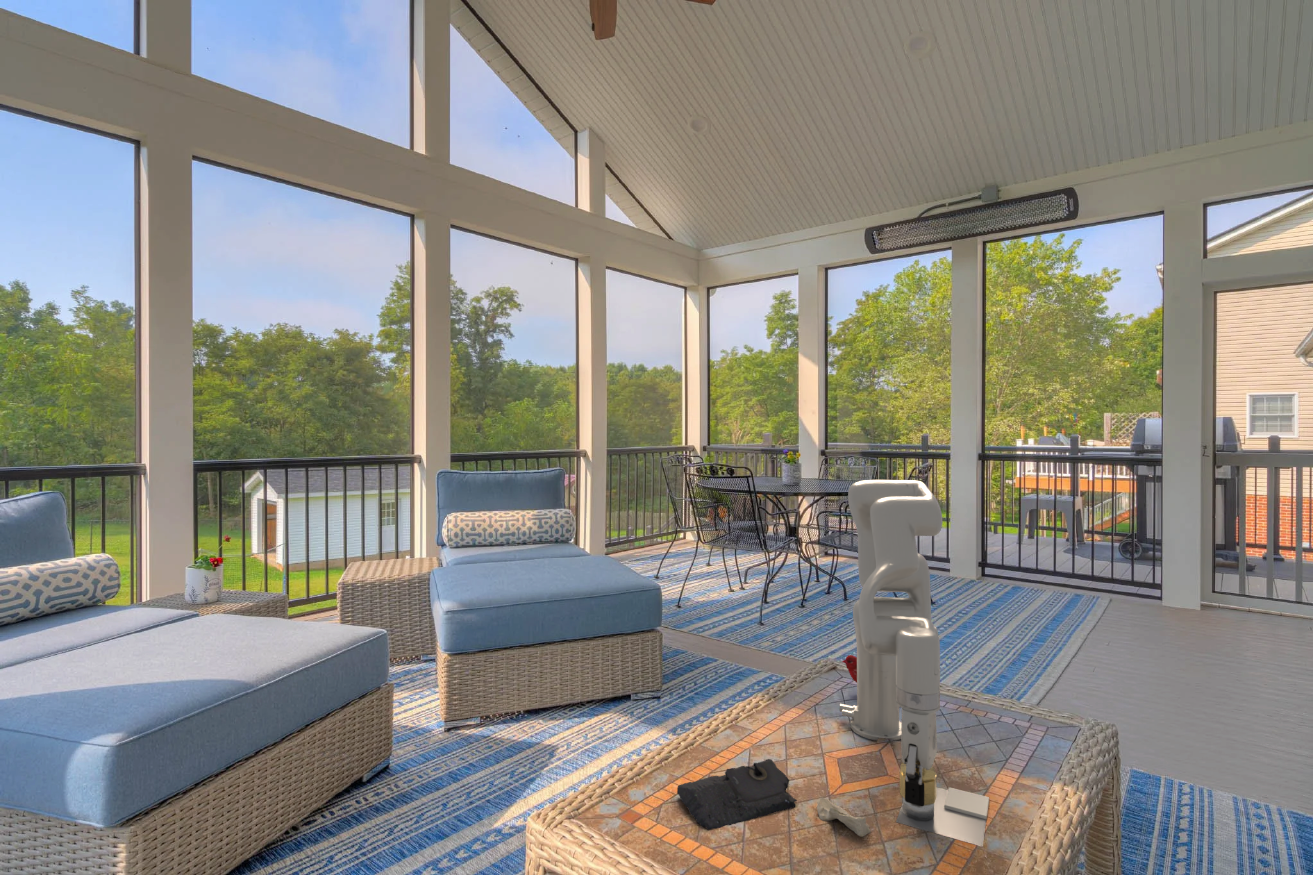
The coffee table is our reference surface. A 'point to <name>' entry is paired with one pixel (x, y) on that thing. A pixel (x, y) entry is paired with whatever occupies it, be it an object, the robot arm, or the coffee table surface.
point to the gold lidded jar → (928, 781)
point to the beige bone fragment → (842, 817)
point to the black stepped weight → (737, 795)
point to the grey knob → (918, 811)
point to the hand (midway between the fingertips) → (917, 793)
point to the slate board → (949, 822)
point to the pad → (967, 803)
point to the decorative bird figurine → (851, 666)
